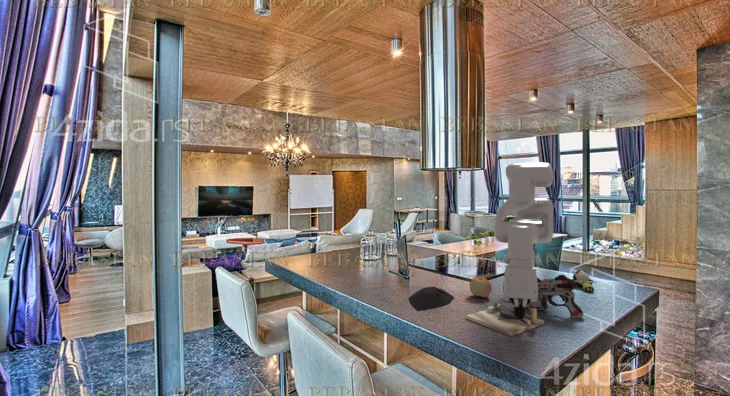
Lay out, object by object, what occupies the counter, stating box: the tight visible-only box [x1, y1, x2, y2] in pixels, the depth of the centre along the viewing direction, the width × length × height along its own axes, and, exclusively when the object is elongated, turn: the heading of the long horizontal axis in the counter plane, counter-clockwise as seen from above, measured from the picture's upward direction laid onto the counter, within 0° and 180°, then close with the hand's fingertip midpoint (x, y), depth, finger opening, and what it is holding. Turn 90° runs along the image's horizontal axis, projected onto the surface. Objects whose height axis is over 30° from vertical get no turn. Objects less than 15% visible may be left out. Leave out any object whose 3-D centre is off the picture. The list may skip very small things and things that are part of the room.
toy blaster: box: [518, 274, 585, 319], centre depth 133 cm, size 4×21×15 cm, turn 51°
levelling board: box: [465, 302, 545, 337], centre depth 123 cm, size 18×18×4 cm
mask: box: [408, 286, 455, 312], centre depth 146 cm, size 17×5×30 cm
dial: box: [499, 302, 538, 325], centre depth 122 cm, size 14×8×5 cm, turn 23°
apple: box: [469, 276, 493, 298], centre depth 151 cm, size 9×9×8 cm
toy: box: [572, 269, 598, 293], centre depth 164 cm, size 10×7×15 cm
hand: (519, 317), depth 117 cm, fingers closed
